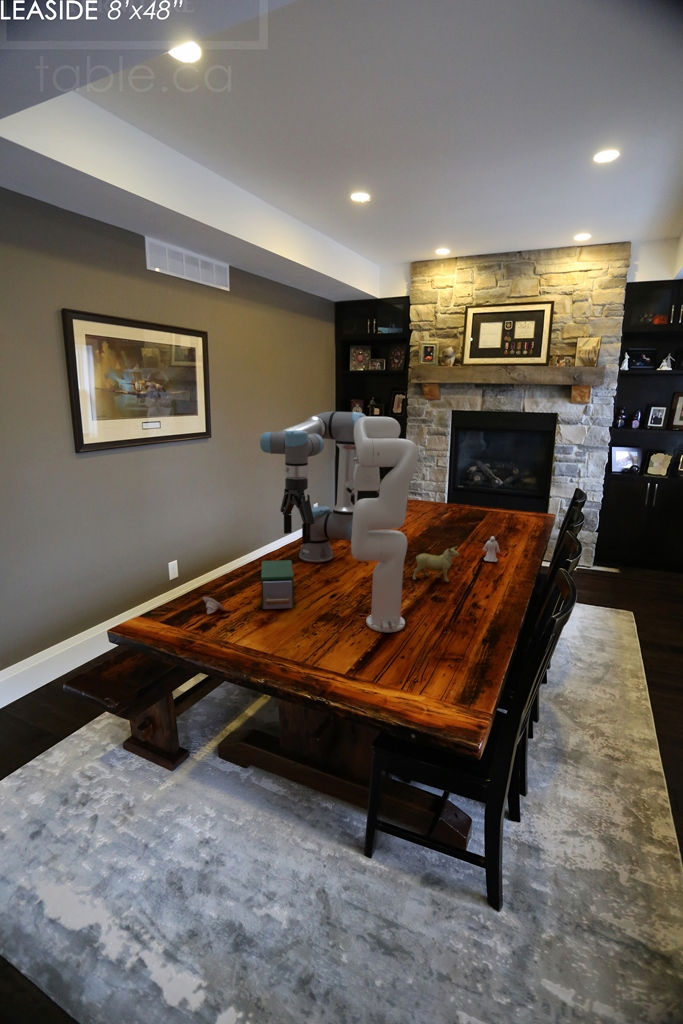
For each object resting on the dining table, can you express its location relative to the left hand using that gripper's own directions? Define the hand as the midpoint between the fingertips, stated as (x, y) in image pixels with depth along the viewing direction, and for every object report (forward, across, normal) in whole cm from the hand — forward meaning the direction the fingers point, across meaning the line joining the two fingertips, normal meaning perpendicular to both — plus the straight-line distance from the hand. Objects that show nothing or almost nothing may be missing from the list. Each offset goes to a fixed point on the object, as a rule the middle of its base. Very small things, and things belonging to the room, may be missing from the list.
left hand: (296, 538), depth 172 cm
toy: (+24, +10, +57) cm, 63 cm away
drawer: (+23, -1, -7) cm, 24 cm away
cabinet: (+24, -6, -5) cm, 25 cm away
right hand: (-6, -9, +35) cm, 37 cm away
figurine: (+24, +5, +96) cm, 99 cm away
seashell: (+24, -7, -28) cm, 37 cm away
